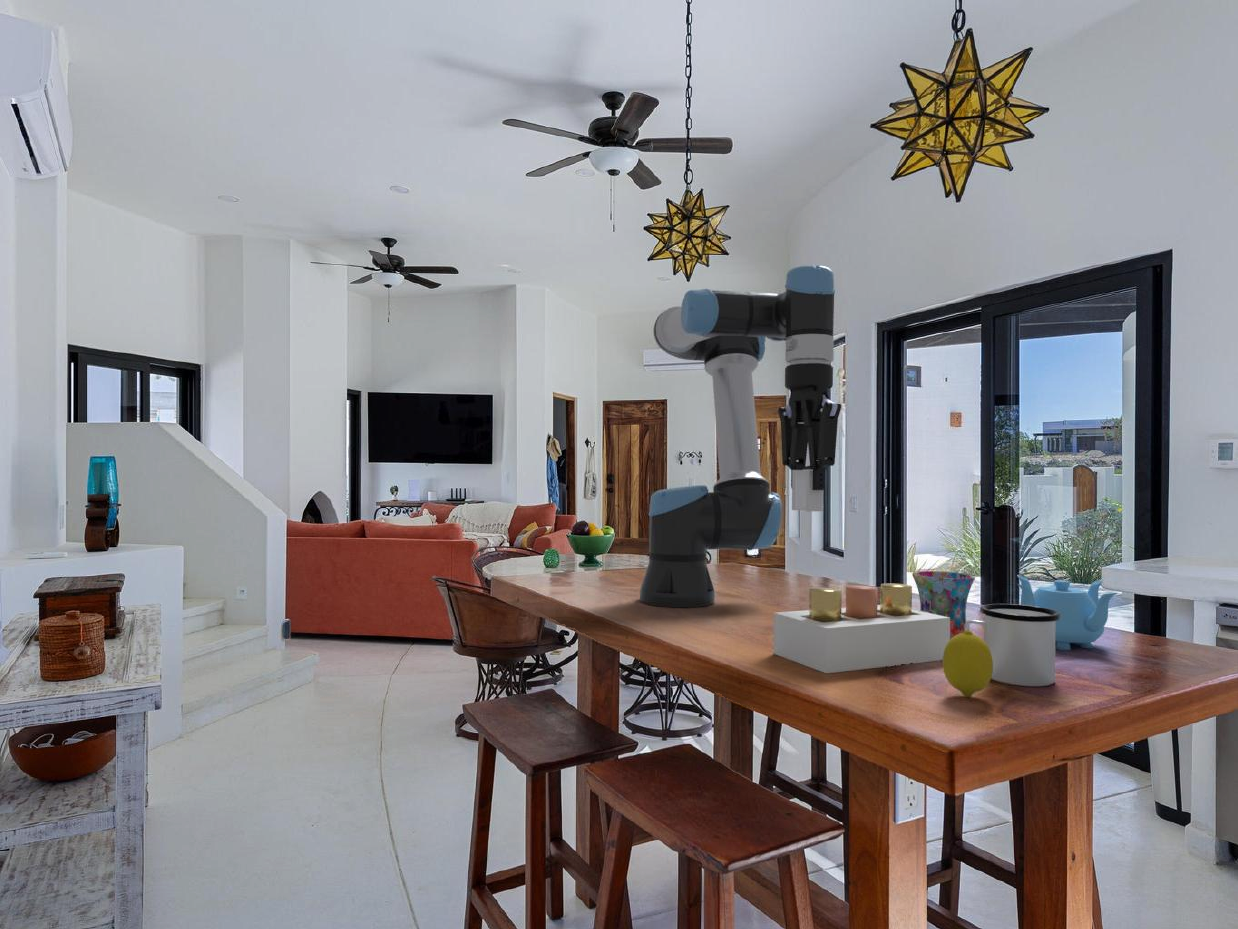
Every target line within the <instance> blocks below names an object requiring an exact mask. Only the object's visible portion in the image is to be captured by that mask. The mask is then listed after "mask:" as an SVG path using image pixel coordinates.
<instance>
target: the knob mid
mask: <svg viewBox="0 0 1238 929" xmlns="http://www.w3.org/2000/svg"><path fill="white" fill-rule="evenodd" d="M878 596H879V595H878V587H875V586H870V585H846V586H845V607H846V616H848V617H852V618H855V619H859V620H860V619H872V618H877V605H878Z"/></svg>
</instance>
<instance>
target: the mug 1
mask: <svg viewBox="0 0 1238 929" xmlns="http://www.w3.org/2000/svg"><path fill="white" fill-rule="evenodd" d="M911 574H912V578H913V579H914V580H913V581H914V582H915V585H916V588H917V591H918V596H919V603H920V604H919V606H920V610H919V611H923V612H927V613H932V614H936V615H940V616H945V617H949V618H950V639H951V638H953V637H954V636H956V635H958V634H961V633H963V632H964V631H965V623H966V622H967V616H966V614H967V613H966V612H967V611H966V610H967V603H968V597H969V594H970V591H971V588H972V587H973V584H974V582H975V580H976V577H975V575H972V574H968V573H964V572H963V573H961V572H954V571H953V572H952V571H939V570H936V571H935V570H922V571H915V572H914V571H913V572H912V573H911Z"/></svg>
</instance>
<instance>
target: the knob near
mask: <svg viewBox="0 0 1238 929" xmlns="http://www.w3.org/2000/svg"><path fill="white" fill-rule="evenodd" d="M842 595H843V592H842V590H841V589H839V588H833V587H811V588H809V609H808V610H809V619H811V620H815V621H818V622H822V623H824V622H836V621H841V608H842Z"/></svg>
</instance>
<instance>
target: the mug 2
mask: <svg viewBox="0 0 1238 929" xmlns="http://www.w3.org/2000/svg"><path fill="white" fill-rule="evenodd" d="M979 612H980V613H981V614H982V615H984V620H980V619H979V620H977V619H970V620H966V623H965V631H966V630H968V631H970V625H971V624H976V625H980V626H984V627H983V628H984V631H983V633H984V634H983V636H984V637H983V638H984V639H983V640H984V641H985V642H986V644H987V645H988V647H989V649H990V652H991V655H992V660H993V673H992V677H991V680H993V681H994V682H998V683H1002V684H1005V685H1011V686H1018V687H1029V688H1031V687H1034V688H1037V687H1038V688H1039V687H1046V686H1048V687H1049V686H1050V685H1052V684H1054V683H1055V682H1056V641H1055V631H1056V621H1057V620H1059V619H1060V618H1061V616H1060V613H1059V612H1057V611H1055V610H1051V609H1047V608H1042V607H1036V606H1028V605H1021V604H1015V603H1014V604H1013V603H992V604H991V603H989V604H983V605H981V606H980V608H979Z"/></svg>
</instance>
